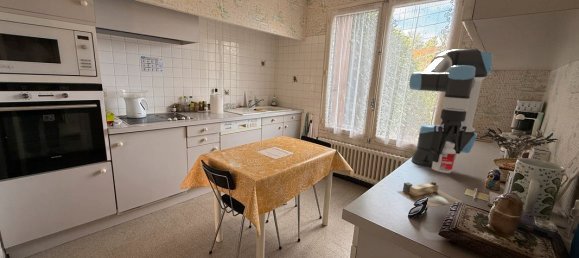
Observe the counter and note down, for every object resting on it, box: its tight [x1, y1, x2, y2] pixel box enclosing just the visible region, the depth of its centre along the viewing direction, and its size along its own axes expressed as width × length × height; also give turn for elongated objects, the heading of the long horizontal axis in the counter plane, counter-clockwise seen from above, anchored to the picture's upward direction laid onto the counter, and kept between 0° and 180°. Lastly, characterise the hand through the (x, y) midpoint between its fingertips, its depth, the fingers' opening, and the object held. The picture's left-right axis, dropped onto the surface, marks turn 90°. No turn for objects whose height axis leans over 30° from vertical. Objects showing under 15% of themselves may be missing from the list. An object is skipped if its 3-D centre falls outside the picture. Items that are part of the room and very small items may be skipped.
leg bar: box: [409, 181, 440, 196], centre depth 97 cm, size 14×4×4 cm, turn 114°
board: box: [396, 182, 463, 209], centre depth 95 cm, size 20×14×5 cm
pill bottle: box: [438, 141, 457, 174], centre depth 89 cm, size 6×6×11 cm
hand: (442, 169), depth 90 cm, fingers closed on pill bottle, 6 cm apart
